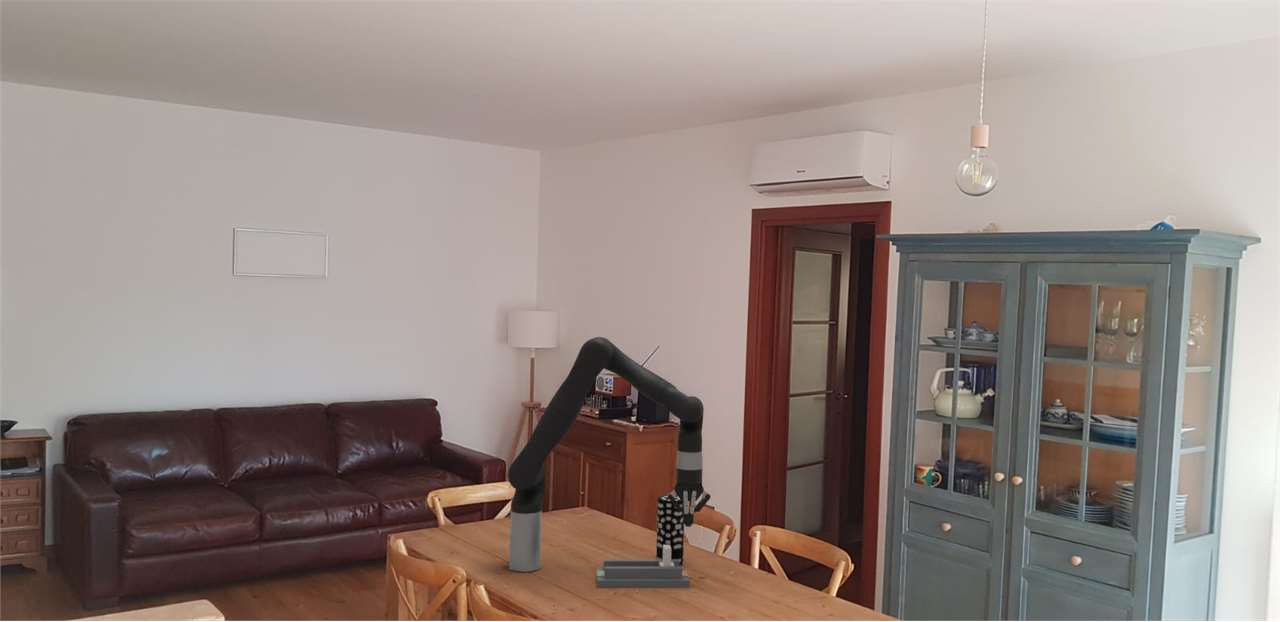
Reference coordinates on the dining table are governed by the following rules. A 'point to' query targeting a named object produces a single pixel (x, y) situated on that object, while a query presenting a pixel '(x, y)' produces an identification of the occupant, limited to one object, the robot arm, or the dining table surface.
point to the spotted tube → (670, 528)
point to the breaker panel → (641, 574)
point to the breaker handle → (666, 556)
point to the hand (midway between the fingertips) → (688, 526)
